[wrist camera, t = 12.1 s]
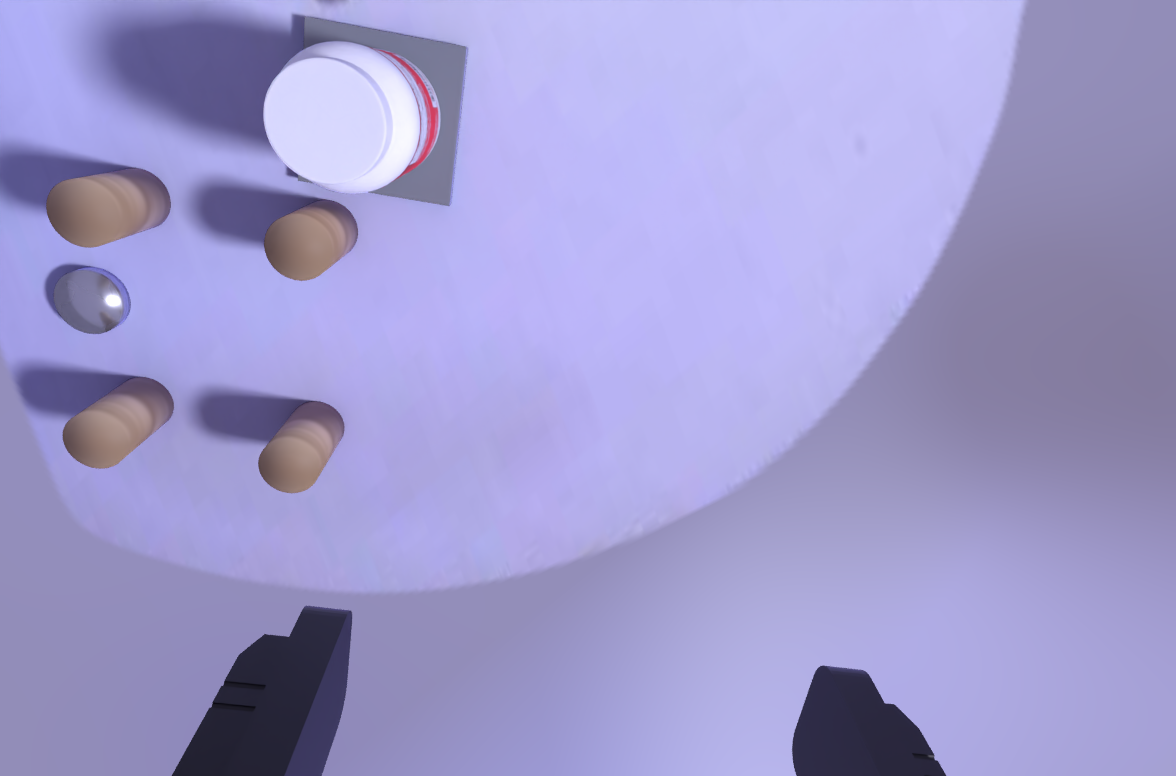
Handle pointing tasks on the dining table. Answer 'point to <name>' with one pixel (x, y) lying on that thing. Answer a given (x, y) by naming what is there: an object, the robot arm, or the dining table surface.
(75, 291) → the shiny metal disc
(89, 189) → the cylinder
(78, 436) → the cylinder
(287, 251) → the cylinder
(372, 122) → the pill bottle
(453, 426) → the dining table surface
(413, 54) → the slate coaster
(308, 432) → the cylinder
